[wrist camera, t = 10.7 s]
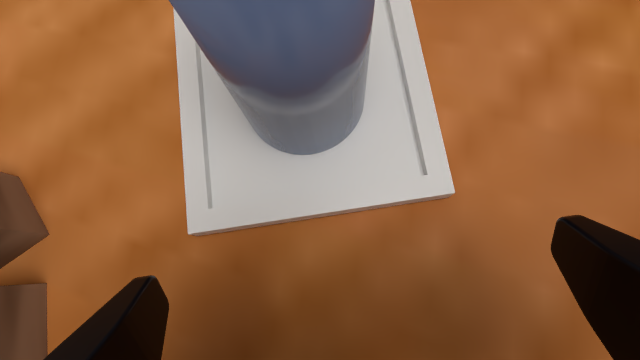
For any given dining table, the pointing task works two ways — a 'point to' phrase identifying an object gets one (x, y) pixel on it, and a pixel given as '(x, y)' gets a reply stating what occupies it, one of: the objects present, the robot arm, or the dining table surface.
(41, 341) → the walnut block
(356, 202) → the tray
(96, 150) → the dining table surface
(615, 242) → the robot arm
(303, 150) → the blue cylinder
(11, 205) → the walnut block
